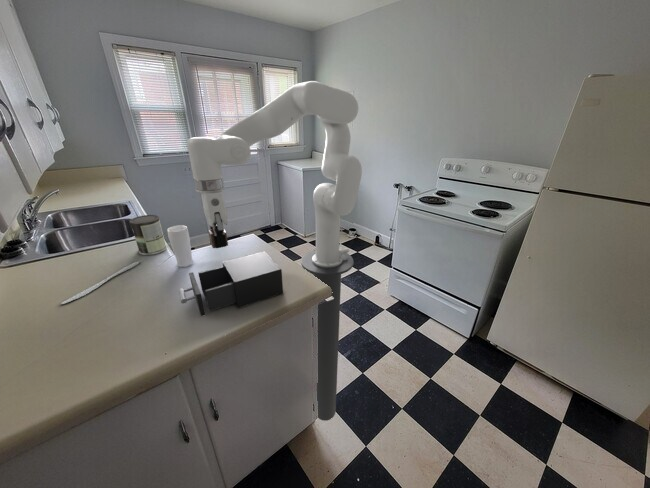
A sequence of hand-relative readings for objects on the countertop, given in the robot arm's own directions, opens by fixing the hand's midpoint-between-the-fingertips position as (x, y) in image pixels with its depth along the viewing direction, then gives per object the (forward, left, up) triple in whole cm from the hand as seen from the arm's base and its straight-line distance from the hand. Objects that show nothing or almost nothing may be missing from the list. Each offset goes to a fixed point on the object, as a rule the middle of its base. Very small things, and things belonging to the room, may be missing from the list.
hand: (219, 243), depth 83 cm
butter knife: (+34, -26, -17) cm, 46 cm away
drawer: (+5, +5, -16) cm, 17 cm away
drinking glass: (+9, -25, -17) cm, 32 cm away
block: (0, 0, 0) cm, 0 cm away
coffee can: (+19, -46, -17) cm, 53 cm away
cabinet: (-8, +5, -17) cm, 19 cm away
